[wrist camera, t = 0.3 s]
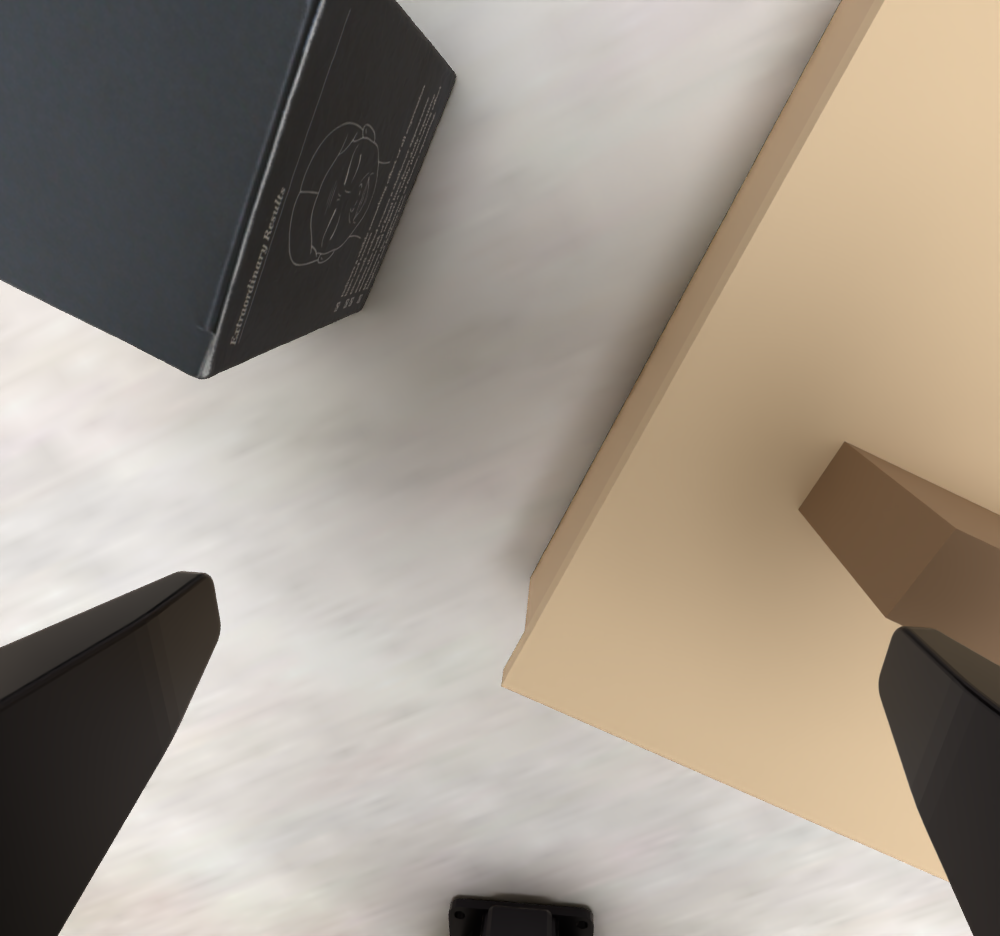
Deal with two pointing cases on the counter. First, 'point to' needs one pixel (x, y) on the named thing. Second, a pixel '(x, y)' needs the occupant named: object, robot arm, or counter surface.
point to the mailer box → (701, 285)
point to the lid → (813, 456)
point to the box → (209, 163)
